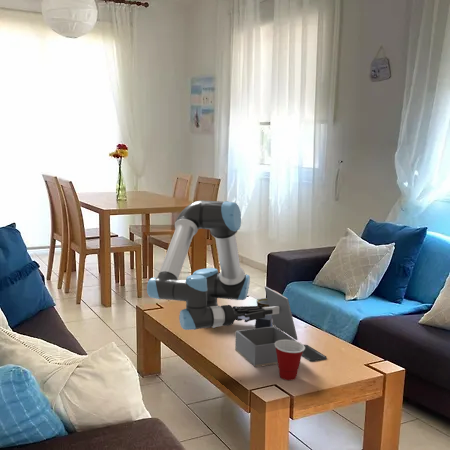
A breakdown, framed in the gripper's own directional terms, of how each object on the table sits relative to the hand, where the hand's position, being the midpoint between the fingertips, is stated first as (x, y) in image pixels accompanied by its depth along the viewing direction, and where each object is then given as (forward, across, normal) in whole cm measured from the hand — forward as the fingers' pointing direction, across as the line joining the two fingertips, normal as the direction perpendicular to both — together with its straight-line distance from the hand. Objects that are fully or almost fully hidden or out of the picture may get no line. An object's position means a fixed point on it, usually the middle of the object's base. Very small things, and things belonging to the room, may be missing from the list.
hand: (278, 309), depth 218 cm
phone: (+12, +3, -19) cm, 23 cm away
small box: (+3, -18, -18) cm, 26 cm away
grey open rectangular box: (-5, -1, -18) cm, 19 cm away
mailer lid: (+1, -1, -2) cm, 2 cm away
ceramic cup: (+14, -39, -18) cm, 45 cm away
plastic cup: (-6, +20, -18) cm, 28 cm away
